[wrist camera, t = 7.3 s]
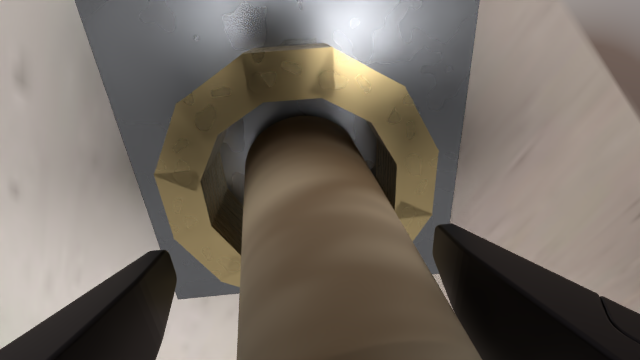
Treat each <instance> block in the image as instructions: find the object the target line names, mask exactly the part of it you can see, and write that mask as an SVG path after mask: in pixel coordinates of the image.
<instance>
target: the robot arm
mask: <svg viewBox="0 0 640 360" xmlns="http://www.w3.org/2000/svg"><path fill="white" fill-rule="evenodd" d="M432 253H433V258H434V261H435V264H436V266H437V269H438V272H439V274H440V277H441V280H442V282H443V285H444V287H445V290H446V293H447V295H448V298H449V300H450V303H451V305H452V308H453V310H454V312H455V314H456V316H457V318H458V320H459V321H460V323H461V325H462V326H463V328H464V330H465V331H466V333H467V335H468V337H469V338H470V340H471V342H472V343H473V345H474V347H475V348H476V350H477V352H478V353H479V355H480V357H481V359H482V360H640V314H639V313H637V312H634V311H632V310H630V309H628V308H626V307H624V306H622V305H620V304H618V303H616V302H614V301H611V300H609V299H607V298H605V297H603V296H601V297H599V295H598V294H597V293H595V292H593V291H591V290H589V289H587V288H584V287H582V286H580V285H578V284H576V283H574V282H572V281H570V280H568V279H566V278H564V277H562V276H560V275H558V274H556V273H554V272H551V271H549V270H547V269H545V268H543V267H541V266H539V265H537V264H535V263H533V262H531V261H529V260H527V259H525V258H523V257H520V256H518V255H516V254H514V253H512V252H510V251H508V250H506V249H504V248H502V247H500V246H498V245H496V244H494V243H492V242H489V241H487V240H485V239H483V238H481V237H479V236H477V235H475V234H473V233H471V232H469V231H467V230H465V229H463V228H461V227H459V226H456V225H454V224H440V225H437V226H436V228H435V232H434V241H433V250H432ZM176 284H177V275H176V272H175V269H174V266H173V263H172V259H171V256H170V254H169V252H168V251H166V250H156V251H150V252H148V253H146V254H145V255H143V256H142V257H140V258H139V259H137V260H136V261H134V262H133V263H131V264H129V265H128V266H126V267H125V268H123V269H122V270H120V271H119V272H117V273H116V274H114V275H113V276H111V277H110V278H108V279H107V280H105V281H104V282H102V283H101V284H99V285H98V286H96V287H94V288H93V289H91V290H90V291H88V292H87V293H85V294H84V295H82V296H81V297H79V298H78V299H76V300H75V301H73V302H72V303H70V304H69V305H67V306H66V307H64V308H63V309H61V310H60V311H58V312H56V313H55V314H53V315H52V316H50V317H49V318H47V319H46V320H44V321H43V322H41V323H40V324H38V325H37V326H35V327H34V328H32V329H31V330H29V331H28V332H26V333H25V334H23V335H22V336H20V337H18V338H17V339H15V340H14V341H12V342H11V343H9V344H8V345H6V346H5V347H3V348H2V349H0V360H156V357H157V354H158V351H159V349H160V346H161V343H162V340H163V336H164V332H165V328H166V324H167V320H168V316H169V312H170V308H171V304H172V300H173V296H174V292H175V288H176Z"/></svg>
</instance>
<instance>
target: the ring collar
mask: <svg viewBox="0 0 640 360" xmlns="http://www.w3.org/2000/svg"><path fill="white" fill-rule="evenodd" d="M479 1H480V0H75V3H76V6H77V8H78V11H79V14H80V17H81V20H82V23H83V26H84V29H85V32H86V35H87V37H88V40H89V43H90V46H91V49H92V52H93V55H94V58H95V61H96V64H97V66H98V69H99V72H100V75H101V78H102V81H103V84H104V87H105V90H106V92H107V95H108V98H109V101H110V104H111V107H112V110H113V113H114V116H115V119H116V121H117V124H118V127H119V130H120V133H121V136H122V139H123V142H124V145H125V148H126V150H127V153H128V156H129V159H130V162H131V165H132V168H133V171H134V174H135V176H136V179H137V182H138V185H139V188H140V191H141V194H142V197H143V200H144V203H145V205H146V208H147V211H148V214H149V217H150V220H151V223H152V226H153V229H154V232H155V234H156V237H157V240H158V243H159V246H160V249H161V250H166V251H168V252H169V254H170V256H171V259H172V263H173V266H174V269H175V272H176V275H177V284H176V288H175V292H176V295H177V298H178V299H187V298H197V297H207V296H217V295H227V294H238V293H240V273H241V250H242V227H243V204H244V180H245V162H246V157H247V154H248V151H249V149H250V147H251V145H252V144H253V142H254V141H255V139H256V138H257V137H258V136H259V135H260V134H261V133H262V132H263V131H264V130H266V129H267V128H268V127H270V126H271V125H273V124H275V123H277V122H279V121H281V120H284V119H287V118H290V117H296V116H316V117H321V118H324V119H327V120H330V121H332V122H334V123H336V124H337V125H339V126H340V127H342V128H343V129H344V130H345V131H346V132H347V133H348V134H349V136H350V137H351V138H352V140H353V141H354V143H355V145H356V147H357V148H358V150H359V152H360V153H361V155H362V157H363V158H364V160H365V162H366V163H367V165H368V167H369V169H370V170H371V172H372V174H373V175H374V177H375V179H376V180H377V182H378V184H379V186H380V187H381V189H382V191H383V192H384V194H385V196H386V197H387V199H388V201H389V203H390V204H391V206H392V208H393V209H394V211H395V213H396V214H397V216H398V218H399V219H400V221H401V223H402V225H403V226H404V228H405V230H406V231H407V233H408V235H409V236H410V238H411V240H412V242H413V243H414V245H415V247H416V248H417V250H418V252H419V253H420V255H421V257H422V258H423V260H424V262H425V264H426V265H427V267H428V269H429V270H430V272H431V274H439V272H438V269H437V266H436V264H435V261H434V258H433V253H432V250H433V241H434V232H435V228H436V226H437V225H440V224H450V217H451V209H452V202H453V194H454V187H455V180H456V172H457V165H458V157H459V150H460V142H461V135H462V128H463V120H464V113H465V105H466V98H467V90H468V83H469V76H470V68H471V61H472V53H473V46H474V38H475V31H476V24H477V16H478V9H479Z"/></svg>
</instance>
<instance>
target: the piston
mask: <svg viewBox="0 0 640 360" xmlns="http://www.w3.org/2000/svg"><path fill="white" fill-rule="evenodd" d="M237 360H482V359H481V357H480V355H479V353H478V352H477V350H476V348H475V347H474V345H473V343H472V342H471V340H470V338H469V337H468V335H467V333H466V331H465V330H464V328H463V326H462V325H461V323H460V321H459V320H458V318H457V316H456V314H455V313H454V311H453V309H452V308H451V306H450V304H449V303H448V301H447V299H446V297H445V296H444V294H443V292H442V291H441V289H440V287H439V286H438V284H437V282H436V281H435V279H434V277H433V275H432V274H431V272H430V270H429V269H428V267H427V265H426V264H425V262H424V260H423V258H422V257H421V255H420V253H419V252H418V250H417V248H416V247H415V245H414V243H413V242H412V240H411V238H410V236H409V235H408V233H407V231H406V230H405V228H404V226H403V225H402V223H401V221H400V219H399V218H398V216H397V214H396V213H395V211H394V209H393V208H392V206H391V204H390V203H389V201H388V199H387V197H386V196H385V194H384V192H383V191H382V189H381V187H380V186H379V184H378V182H377V180H376V179H375V177H374V175H373V174H372V172H371V170H370V169H369V167H368V165H367V163H366V162H365V160H364V158H363V157H362V155H361V153H360V152H359V150H358V148H357V147H356V145H355V143H354V141H353V140H352V138H351V137H350V136H349V134H348V133H347V132H346V131H345V130H344V129H343V128H342V127H340V126H339V125H337V124H336V123H334V122H332V121H330V120H327V119H324V118H321V117H316V116H296V117H290V118H287V119H284V120H281V121H279V122H277V123H275V124H273V125H271V126H270V127H268V128H267V129H266V130H264V131H263V132H262V133H261V134H260V135H259V136H258V137H257V138H256V139H255V141H254V142H253V144H252V145H251V147H250V149H249V151H248V154H247V157H246V162H245V180H244V204H243V227H242V250H241V273H240V297H239V320H238V343H237Z"/></svg>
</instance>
